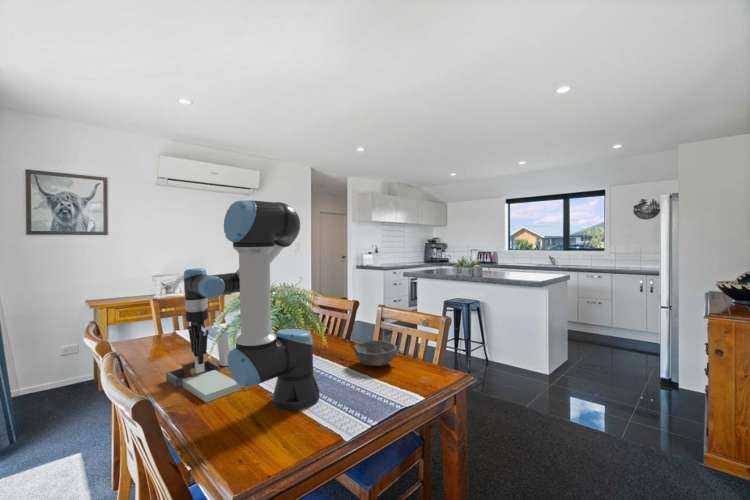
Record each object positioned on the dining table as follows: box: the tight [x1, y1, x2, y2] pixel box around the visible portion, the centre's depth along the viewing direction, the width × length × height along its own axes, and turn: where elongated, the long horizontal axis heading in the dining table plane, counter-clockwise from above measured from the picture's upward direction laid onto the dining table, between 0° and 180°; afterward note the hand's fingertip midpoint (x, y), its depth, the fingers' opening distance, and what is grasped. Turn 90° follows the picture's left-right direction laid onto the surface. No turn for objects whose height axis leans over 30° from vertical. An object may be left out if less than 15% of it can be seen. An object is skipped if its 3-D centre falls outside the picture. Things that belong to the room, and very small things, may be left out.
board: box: [181, 370, 241, 403], centre depth 128 cm, size 20×12×2 cm, turn 49°
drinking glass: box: [216, 328, 230, 367], centre depth 151 cm, size 7×7×15 cm
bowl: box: [353, 340, 398, 367], centre depth 147 cm, size 18×18×8 cm
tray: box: [165, 359, 221, 389], centre depth 138 cm, size 10×16×4 cm, turn 139°
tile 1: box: [181, 359, 195, 378], centre depth 139 cm, size 5×5×3 cm
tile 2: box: [186, 366, 206, 378], centre depth 136 cm, size 5×5×3 cm
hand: (199, 371), depth 134 cm, fingers closed
